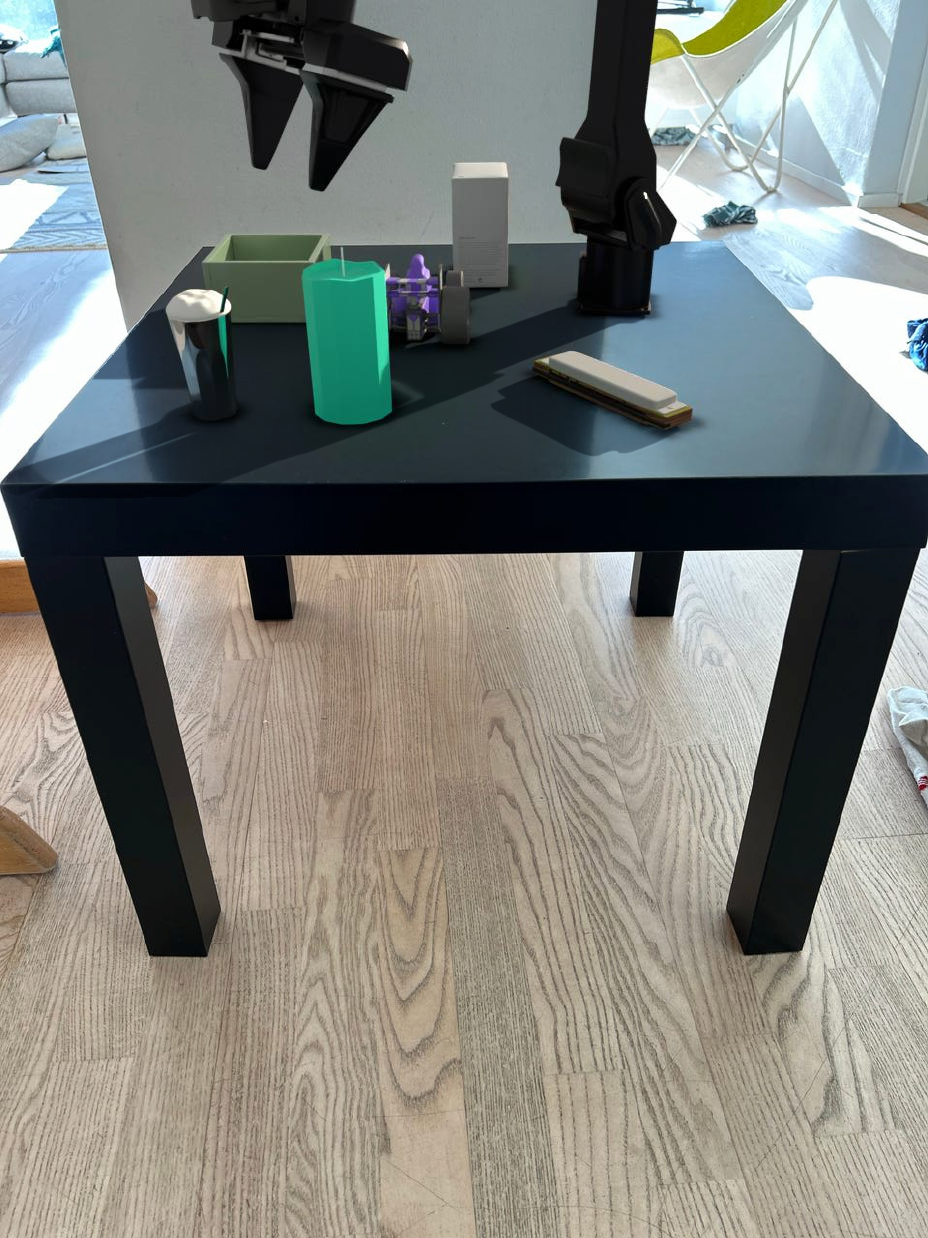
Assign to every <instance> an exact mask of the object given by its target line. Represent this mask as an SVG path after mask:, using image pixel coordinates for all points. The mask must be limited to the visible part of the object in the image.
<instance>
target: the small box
mask: <svg viewBox="0 0 928 1238" xmlns="http://www.w3.org/2000/svg"><path fill="white" fill-rule="evenodd" d="M508 171H509V169H508V166H507V162H499V161H495V162H493V161H492V162H491V161H490V162H487V161H485V162H454V163H453V164H452V176H451V220H452V221H451V222H452V223H451V224H452V225H451V227H452V228H451V231H452V268H453V270H452V271H462V272H463V279H464V286H466V287H469V288H506V287H508V286H509V285H508V284H509V283H508V282H509V281H508V280H509V210H510V209H509V205H510V204H509V202H510V201H509V199H510V178H509V172H508Z"/></svg>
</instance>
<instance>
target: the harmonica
mask: <svg viewBox="0 0 928 1238" xmlns="http://www.w3.org/2000/svg"><path fill="white" fill-rule="evenodd" d="M531 370H532V372H533V373H535V374H536V375H538V376H540V377H543V378H545V379H547V380H548V381H549V383H552V384H553V385H555V386H556V387H559V388H561V389H564V390H566V391H568V392H570V393H573V394H576V395H578V396H579V397H582V398H584V399H586V400H589V401H590V402H593V403H595V404H597V405H600V406H602V407H604V408H607V409H608V410H611V411H613V412H615V413H618V414H620V415H622V416H624V417H627V418H629V419H630V420H631V419H632V420H633V421H636V422H638V423H640V424H643V425H646V426H648V425H650V426H654V427H655V428H658V429H660V430H663V431H665V430H669V429H672V428H675V427H677V426H680V425H683V424H685V423H688V422H691V421H692V418H693V410H694V408H693V407H692V406H690V405H687V404H685V403H683V402H680V401H679V400H677V399H678V393H677V392H675V391H674V390H672V389H670V388H668V387H665V386H663V385H661V384H658V383H656V382H654V381H652V380H649V379H646V378H644V377H641V376H639V375H637V374H633V373H632V372H629V371H626V370H623V369H621V368H619V367H617V366H615V365H614V366H613V365H612V364H609V363H607V362H604V361H601V360H599V359H597V358H594V357H591V356H589V355H586V354H584V353H581V352H578V351H575V350H568V351H565V352H561V353H556V354H552V355H549V356H546V357H542V358H539V359H535V360H534V361H533V366H532V367H531Z"/></svg>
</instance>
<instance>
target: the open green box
mask: <svg viewBox="0 0 928 1238" xmlns="http://www.w3.org/2000/svg"><path fill="white" fill-rule="evenodd" d="M330 259H332V251H331V238H330V233H226V234H225V235H224V236H223V238H221V240H220V241H219V242H218V243H217V244H216V245H215V247H214V248H212V250H211V251H210V252H209V254H208V255H207V256H206V257H205V258H204V259H203V260H202V262H201V268H202V275H203V281H204V287H205V290H213V291H215V292H217V293H219V294H221V295H223V291H224V287H227V286H229V288H228V294H227V300H228V301H229V302H230V304H231V319H232V323H269V324H271V323H275V324H276V323H279V324H280V323H285V324H286V323H287V324H289V323H294V324H295V323H297V324H298V323H301V324H302V323H304V324H305V323H306V314H305V304H304V294H303V284H302V274H303V269H305V268H307V267H309V266H311V265H313V264H315V263H318V262H322V261H326V260H330Z"/></svg>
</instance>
